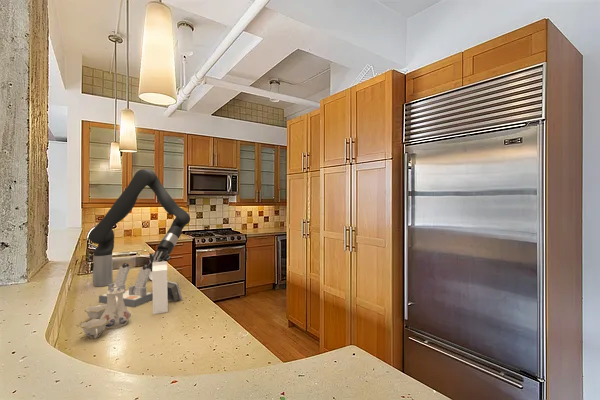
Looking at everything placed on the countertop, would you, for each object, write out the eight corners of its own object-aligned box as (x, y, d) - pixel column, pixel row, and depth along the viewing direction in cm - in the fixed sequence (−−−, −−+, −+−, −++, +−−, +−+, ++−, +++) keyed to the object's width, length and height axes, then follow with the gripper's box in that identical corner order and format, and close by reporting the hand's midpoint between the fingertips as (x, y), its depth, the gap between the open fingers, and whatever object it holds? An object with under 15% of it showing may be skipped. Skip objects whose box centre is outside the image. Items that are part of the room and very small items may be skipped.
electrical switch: (182, 300, 156) (181, 281, 155) (173, 304, 151) (171, 285, 151) (171, 296, 161) (169, 279, 160) (161, 300, 157) (159, 282, 156)
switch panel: (99, 302, 153) (98, 287, 153) (120, 294, 165) (119, 280, 164) (135, 307, 146) (134, 291, 146) (154, 298, 158) (154, 284, 158)
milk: (167, 312, 140) (167, 262, 139) (152, 314, 138) (152, 263, 137) (167, 307, 146) (167, 259, 145) (152, 309, 143) (152, 261, 143)
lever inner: (110, 289, 157) (120, 261, 162) (115, 290, 160) (124, 263, 165) (118, 290, 155) (128, 262, 161) (123, 291, 158) (132, 263, 163)
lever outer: (131, 292, 153) (140, 263, 158) (136, 293, 156) (144, 265, 161) (139, 293, 151) (148, 264, 157) (144, 294, 154) (152, 265, 159)
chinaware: (82, 323, 133) (76, 284, 131) (127, 310, 142) (122, 274, 141) (83, 350, 110) (76, 303, 108) (136, 332, 119) (131, 290, 118)
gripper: (154, 238, 173) (137, 265, 161) (174, 239, 169) (158, 267, 157) (161, 246, 178) (145, 273, 166) (181, 247, 174) (165, 275, 162)
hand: (151, 270), depth 162 cm, fingers closed
